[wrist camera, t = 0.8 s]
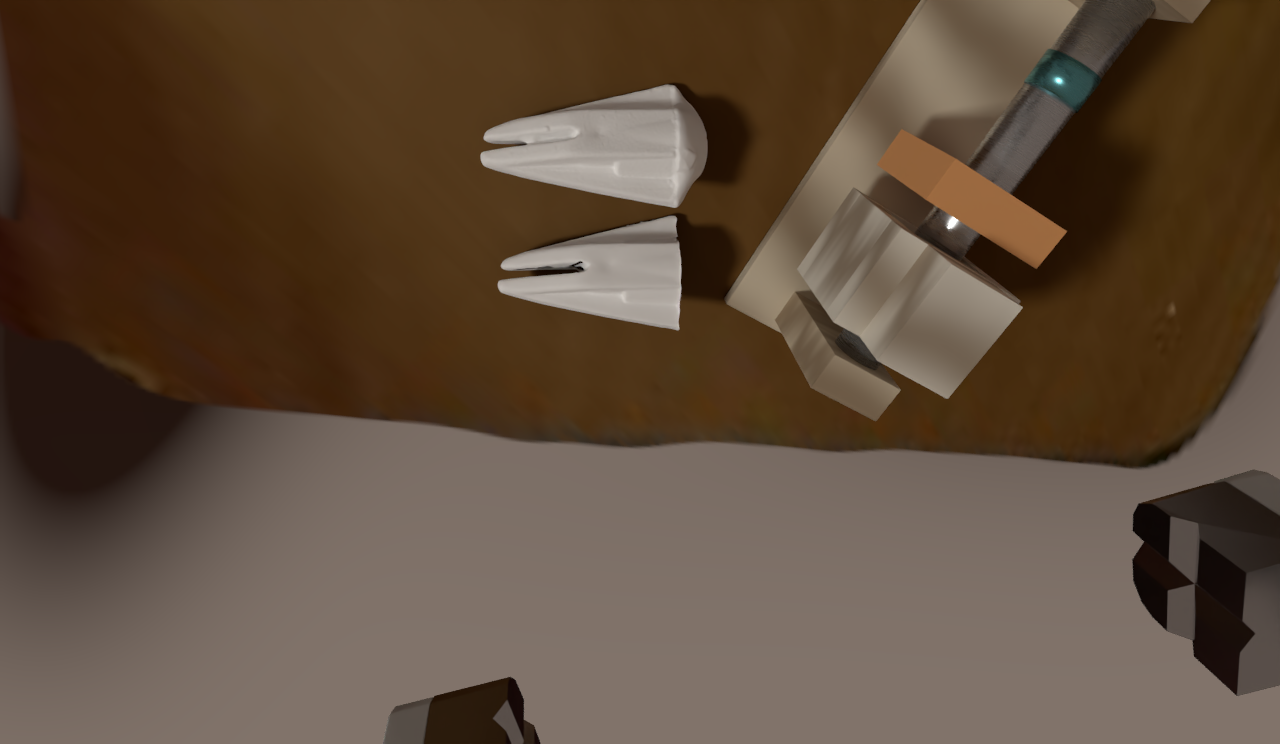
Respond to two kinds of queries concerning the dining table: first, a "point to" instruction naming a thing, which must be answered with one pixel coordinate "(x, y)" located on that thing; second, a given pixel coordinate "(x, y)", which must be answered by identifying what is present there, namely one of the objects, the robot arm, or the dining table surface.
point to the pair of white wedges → (616, 166)
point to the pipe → (1033, 120)
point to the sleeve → (905, 295)
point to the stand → (890, 101)
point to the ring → (971, 198)
